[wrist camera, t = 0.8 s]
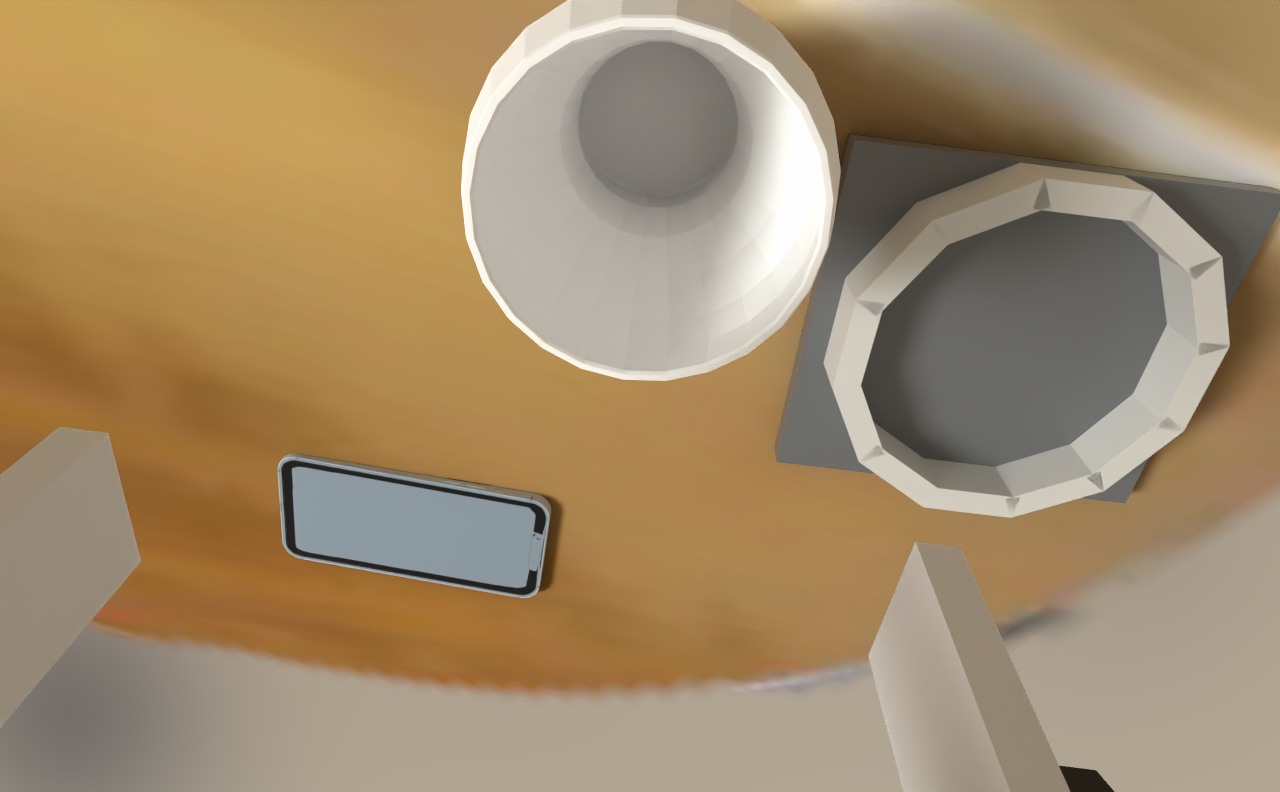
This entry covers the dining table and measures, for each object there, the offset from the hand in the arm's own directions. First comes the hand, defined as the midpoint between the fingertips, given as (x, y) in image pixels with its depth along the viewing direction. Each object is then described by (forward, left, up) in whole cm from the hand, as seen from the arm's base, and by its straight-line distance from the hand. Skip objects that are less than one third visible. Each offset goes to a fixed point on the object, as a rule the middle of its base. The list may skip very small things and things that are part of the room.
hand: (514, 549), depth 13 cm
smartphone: (+21, -9, -25) cm, 34 cm away
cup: (-3, +2, -25) cm, 25 cm away
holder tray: (+5, +19, -25) cm, 31 cm away
